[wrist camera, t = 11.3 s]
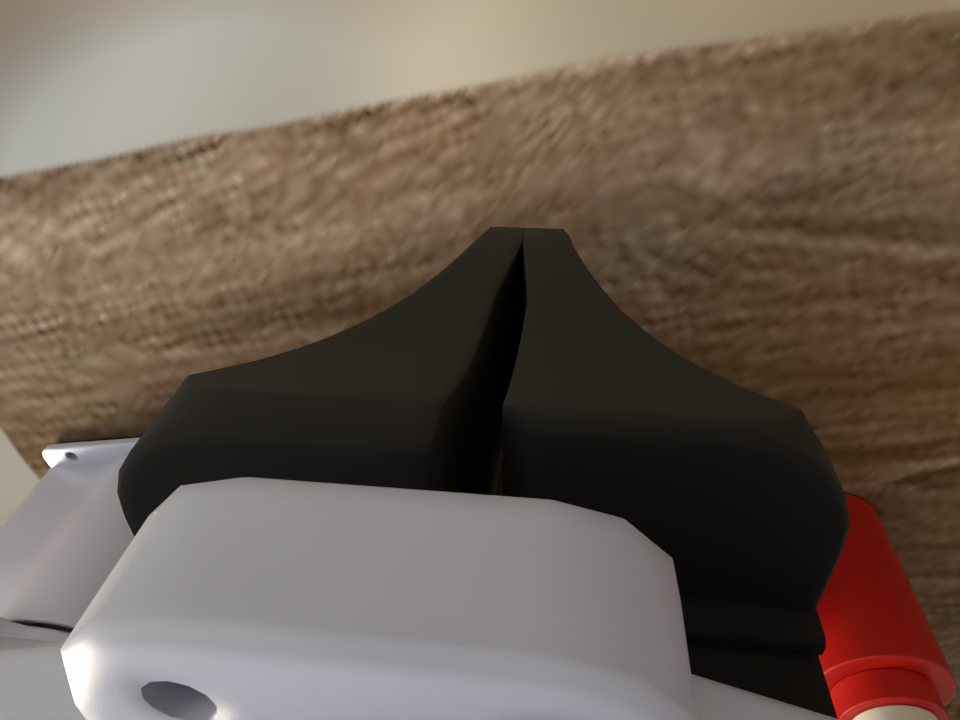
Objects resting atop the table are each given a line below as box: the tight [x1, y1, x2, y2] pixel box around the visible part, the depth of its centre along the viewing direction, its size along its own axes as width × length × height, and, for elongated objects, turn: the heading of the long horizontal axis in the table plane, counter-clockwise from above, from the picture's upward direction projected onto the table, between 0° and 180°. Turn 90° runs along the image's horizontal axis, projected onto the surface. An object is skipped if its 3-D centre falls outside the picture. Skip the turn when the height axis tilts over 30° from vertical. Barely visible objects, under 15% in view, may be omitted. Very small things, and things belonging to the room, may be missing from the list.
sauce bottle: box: [816, 493, 956, 720], centre depth 24 cm, size 4×4×9 cm
